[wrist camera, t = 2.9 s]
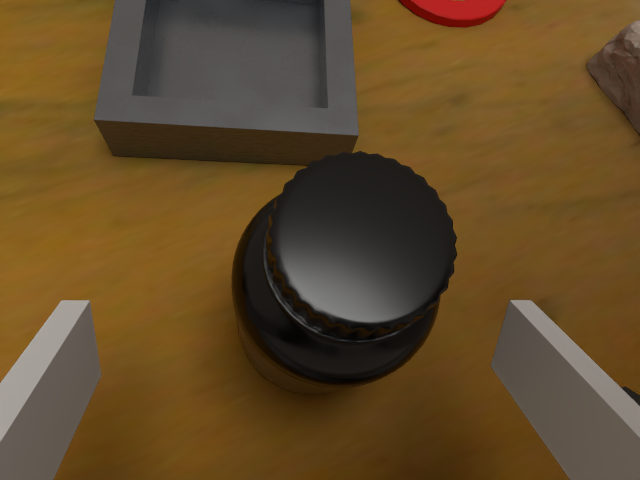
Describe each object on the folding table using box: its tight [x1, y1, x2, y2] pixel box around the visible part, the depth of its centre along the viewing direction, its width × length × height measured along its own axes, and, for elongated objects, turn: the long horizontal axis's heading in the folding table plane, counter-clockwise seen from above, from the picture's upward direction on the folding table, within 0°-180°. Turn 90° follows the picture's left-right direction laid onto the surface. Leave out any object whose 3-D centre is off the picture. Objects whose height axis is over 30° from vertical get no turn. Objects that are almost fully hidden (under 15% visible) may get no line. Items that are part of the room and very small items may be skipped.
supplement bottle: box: [232, 151, 457, 394], centre depth 17 cm, size 7×7×12 cm
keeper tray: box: [94, 0, 359, 165], centre depth 25 cm, size 12×12×3 cm
